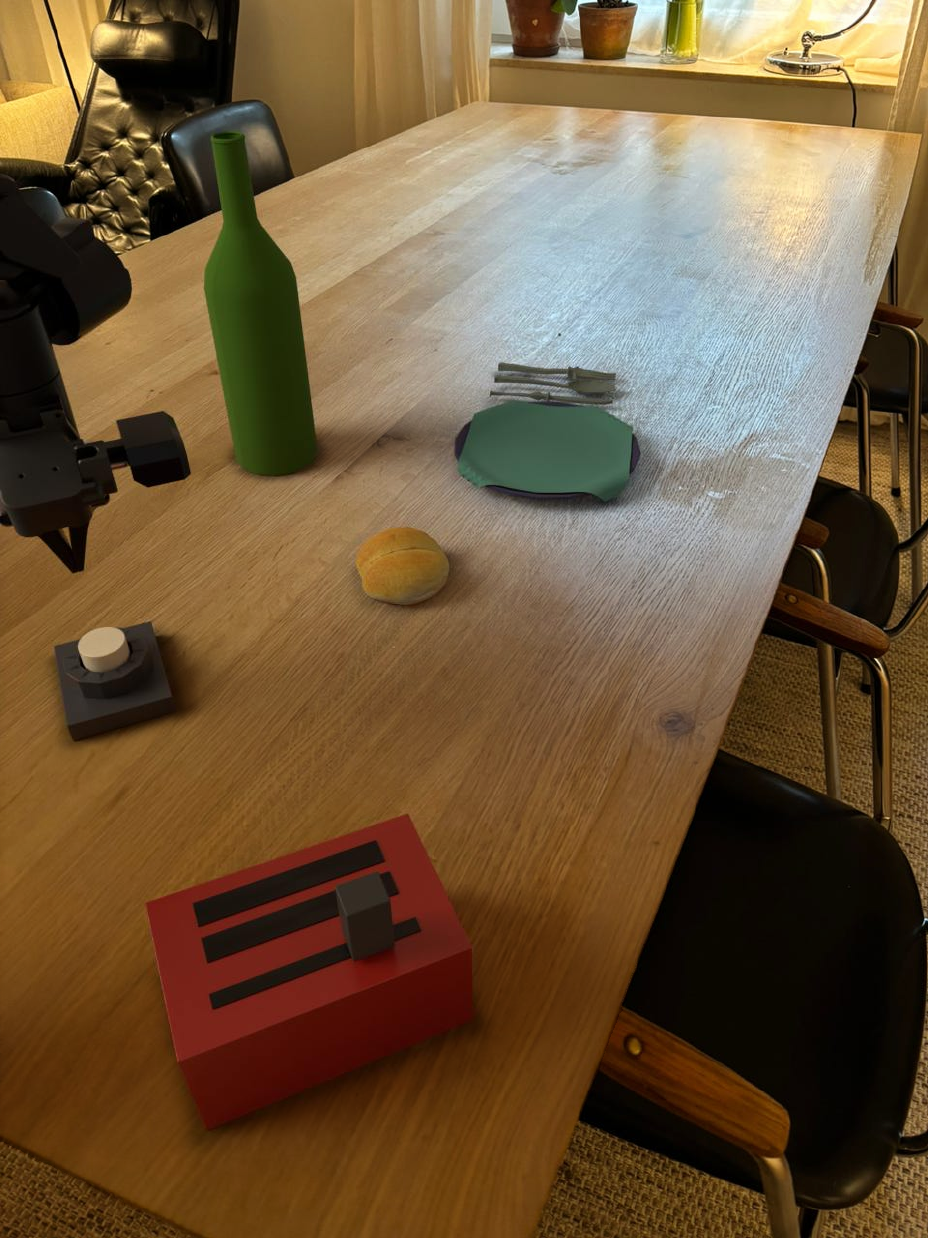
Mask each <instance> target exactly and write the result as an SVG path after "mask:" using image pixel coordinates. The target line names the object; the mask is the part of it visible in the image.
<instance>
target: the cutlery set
mask: <svg viewBox="0 0 928 1238" xmlns="http://www.w3.org/2000/svg"><path fill="white" fill-rule="evenodd" d="M497 371H498V372H515V373H516V372H517V373H522V374H530V375H531V374H532V375H542V376H543V375H545V376H546V375H547V376H548V375H567V377H568V379H572V381H568V382H566V383H565V384H563V383H559V382H554V381H547V380H541V379H536V378H529V377H519V376H512V375H511V376H510V375H501V374H494V378H493V380H494V381H493V382H494V384H523V385H535V386H536V385H537V386H545V387H553V388H562V389H567V390H571V391H574V392H575V393H577V394H579V395H584V396H597V395H603V394H606V393H610V392H612V391H614V390H616V385H615V384H613V383H610V382H609V381H615V380H616V379H617V377H616V376H617V372H603V371H598V370H593V369H592V370H591V369H586V368H582V367H579V366H577V365H576V366H575V367H572V366H570V365H569V366H568V367H567V368H558V367H557V368H554V367H553V368H545V367H536V366H530V365H523V364H517V363H507V362H498V364H497ZM492 396H502V397H503V396H505V397H507V396H508V397H509V396H510V397H521V398H531V399H532V400H535V401H522V400H509V401H506V402H503V403H499V404H495V405H493V406H491V407H488V408H486V409H482V410H480V411H478V412H475V413H473V415H472V418H471V420H470V421H468V422H467V423H466V424H464V425H463V427H462V428H461V430H459V433H458V434H457V435H456V437H455V438H454V457H455V459H456V461H457V471H458V473H459V475H460V476H461V477H462V478H464V479H465V480H466V481H467V482H469V483H471V485H473V486H474V487H476V488H477V489H479V488H481V487H486V488H489V489H490V490H494V491H497V492H498V493H502V494H504V495H506V496H512V497H518V498H523V499H528V500H535V501H567V500H573V499H578V498H583V497H584V498H585V497H588V496H596V497H598V498H599V499H601V500H602V501H604V502H605V503H608V502H609V501H611V500H613V499H615V498H617V497H618V496H619V495H620V494H622V493H623V492H624V491H625V490H626V487H627V485H628V482H629V477H630V476H631V474H633V473H634V472H635V469H637V465H638V462H639V459H640V458H641V455H642V453H641V448H640V444H639V440H638V437H637V436H635V434H634V433H633V429H634V428H633V426H631V425H629V424H628V423H627V422H626V421H623V420H621V418H618V417H616V416H615V415H614V414H612V413H609V411H606V410H604V409H603V408H600V407H598V406H606V405H611V404H613V403H614V399H609V398H595V397H594V398H593V397H579V396H567V395H566V396H565V395H552V394H551V391H548V392H546V393H543V392H541V391H539V390H538V391H534V392H530V393H528V392H504V391H503V392H502V391H495V390H494V391H493V390H492V389H490V391H489V398H491V397H492ZM541 400H543V401H541ZM579 404H581V405H579ZM584 405H585V406H584ZM586 405H595V406H586ZM596 405H597V406H596Z"/></svg>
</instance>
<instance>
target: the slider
mask: <svg viewBox="0 0 928 1238" xmlns="http://www.w3.org/2000/svg"><path fill="white" fill-rule="evenodd" d="M335 891H336V897H337V903H338V909H339V915H340V921H341V927H342V933H343V936H344V938H345V941H346V944H347V946H348V949H349V952H350V954H351V957H352V960H353V961H354V962H356V961H358V960H361V959H363V958H366V957H369V956H371V955H374V954H377V953H379V952H382V951H384V950H387V949H390V948H392V947H394V946H395V940H394V930H393V921H392V911H391V902H390V898H389V896H388V893H387V891H386V889H385V886H384V884H383V882H382V879H381V877H380V875H379V872H374V873H371V874H368V875H365V876H362V877H360V878H357V879H354V880H351V881H348V882H346V883H343V884H340V885H337V886H335Z"/></svg>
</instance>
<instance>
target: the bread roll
mask: <svg viewBox="0 0 928 1238" xmlns="http://www.w3.org/2000/svg"><path fill="white" fill-rule="evenodd" d="M355 566H356V569H357V571H358V574H359V576H360V577H361V579H362V581H361V587H362V589H363V591H364V593H365V594H366V595H367V596H368V597H370V598H371V599H374V600H377V601H379V602H384V603H389V604H396V605H400V606H401V605H402V606H407V605H408V606H409V605H415V604H418V603H420V602H424V601H426V600H428V599H430V598H432V597H433V596H434V595H436V594H437V593H438V592H439V591H440V590H441V589H442V588H443V587H444V586H445V585H446V583H447V582H448V581H447V580H448V577H449V572H450V563H449V560H448V558H447V556H446V555H445V552H444V551H443V549H442V547H441V546H440V544H439V543H438V542H437V541H436V540H435V539H434V538H433V537H431V536H430V535H429V533H427V532H425V531H423V530H421V529H418V528H414V527H410V526H396V527H390V528H387V529H384V530H382V531H379V532H377V533H376V534H374V535H372V536H370V537H368V539H367V540H365V542H363V544H362V545H361V546H360V548H359V550H358V552H357V555H356V565H355Z"/></svg>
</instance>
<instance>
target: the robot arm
mask: <svg viewBox="0 0 928 1238" xmlns="http://www.w3.org/2000/svg"><path fill="white" fill-rule="evenodd" d="M93 226H94V225H93V222H92V221H91V220H90V219H87V218H79V217H78V218H77V217H69V216H65V217H63V218H61V219H59V220H57V221H56V222H54V223H53V224H52V225H51V226H50V224H48V223H47V221H45V220H44V219H43V218H42V216H40V215H39V214H38V213H37V212H36V211H35V210H34V209H33V208H32V207H31V206H30V204H28V202H27V200H26V198H25V195H24V193H23V192H22V190H21V189H20V188H19V187H18V186H17V183H16V181H15V179H14V178H13V177H11V176H9V175H7V174H4V173H0V525H1V526H2V527H4V528H10V527H13V529H14V530H15V532H16V534H17V535H18V536H20V537H23V538H36V537H37V538H39V539H40V540H41V541H42V542H43V543H44V544H45V545H46V546H47V548H49V549H50V551H51V552H52V553H53V554H54V555H55V556H56V557H57V558H58V559H59V560H60V562H61V563H62V564H63V565H64V566H65V567H66V568H67V569H68V571H70V572H71V574H74V575H75V574H77V573H82V572H84V571H85V563H86V554H87V553H86V552H87V542H88V531H89V526H90V522H91V520H92V518H93V515H94V513H95V511H96V509H98V508H99V507H100V508H101V507H104V506H106V505H108V504H109V503H110V502H111V496H110V495H112V494H116V493H118V491H119V490H118V485H117V482H116V478H115V475H114V471H116V470H119V469H120V470H121V469H124V468H128V467H129V469H130V472H131V475H132V480H133V481H134V482H136V483H138V484H140V485H142V486H144V487H146V488H148V489H149V488H153V487H157V486H161V485H166V484H167V485H168V484H171V483H175V482H180V481H184V480H186V479H187V478H189V477H190V475H192V472H191V466H190V461H189V457H188V454H187V450H186V447H185V443H184V441H183V438H182V436H181V433H180V431H179V428H178V425H177V424H176V421H175V419H174V417H173V416H172V415H170V414H169V413H167V412H165V410H160V411H156V412H150V413H145V414H141V415H136V416H130V417H126V418H121V419H116V420H115V423H116V428H117V431H118V434H119V438H117V439H113V440H108V441H104V440H102V439H101V440H100V439H99V440H96V441H93V440H87V441H84V438H81V435H80V433H79V432H80V431H79V429H78V425H77V422H76V419H75V415H74V412H73V409H72V405H71V403H70V402H71V401H70V399H69V396H68V392H67V389H66V386H65V382H64V379H63V376H62V371H61V369H60V366H59V363H58V359H57V356H56V352H55V349H54V346H60V347H62V346H70V345H72V344H75V343H77V342H78V341H80V340H81V339H82V338H84V337H85V336H86V335H88V334H90V333H91V332H92V331H94V330H96V329H97V328H98V327H100V326H101V325H102V324H104V323H105V322H107V321H108V320H110V319H111V318H113V317H115V316H116V315H117V314H119V313H120V312H122V311H123V310H124V309H125V308H126V307H127V306H128V305H129V303H130V301H131V299H132V292H133V284H132V283H133V282H132V277H131V274H130V271H129V270H128V269H127V268H126V267H125V265H124V263H123V261H122V260H121V258H120V257H119V256H118V255H117V252H116V251H114V250H113V248H111V247H110V246H109V245H108V243H106V242H104V241H103V240H101V239H100V238H99V237H97V236H96V234H95V231H94V227H93ZM64 529H67V530H68V535H69V536H68V537H69V539H68V537H67V535H66V533H65V530H64Z"/></svg>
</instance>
